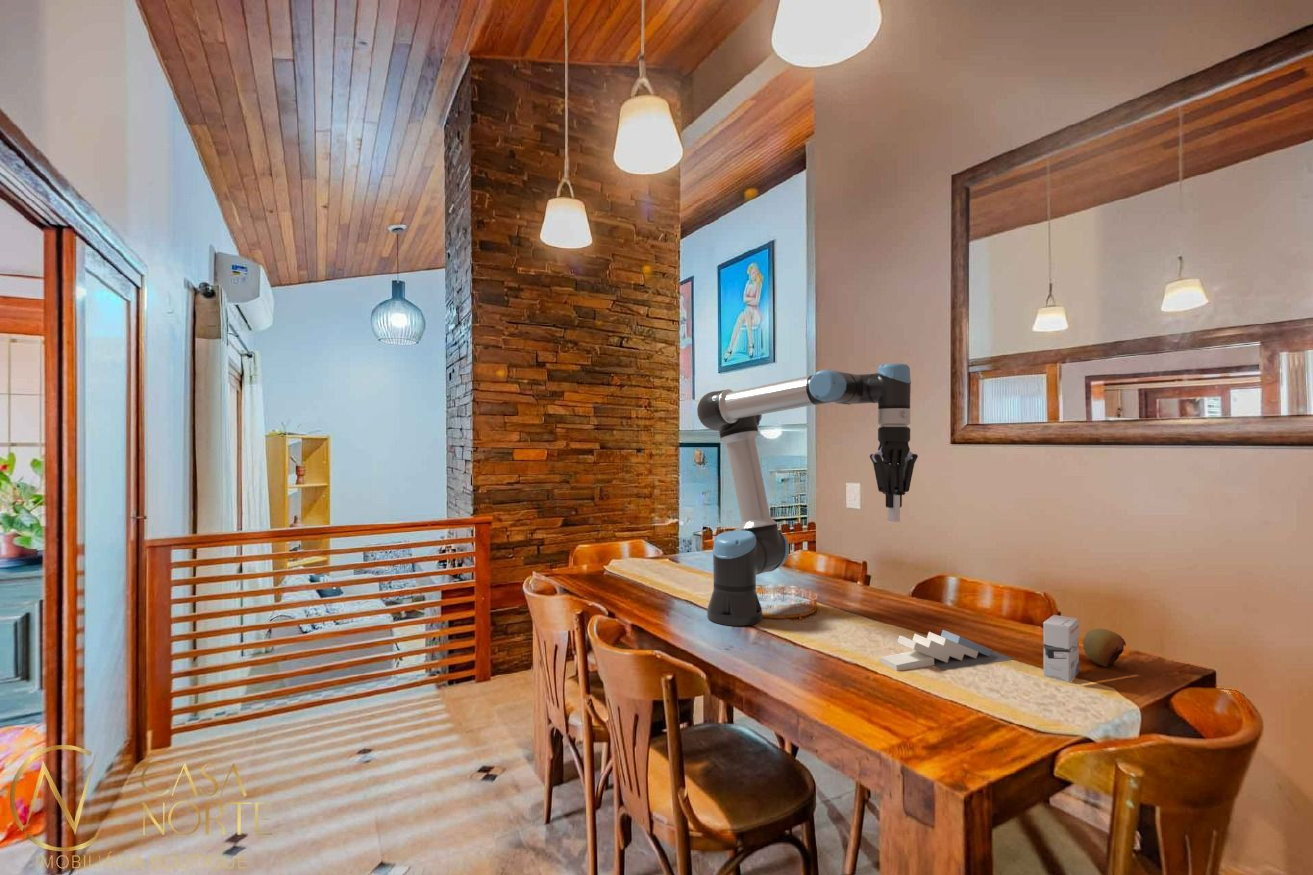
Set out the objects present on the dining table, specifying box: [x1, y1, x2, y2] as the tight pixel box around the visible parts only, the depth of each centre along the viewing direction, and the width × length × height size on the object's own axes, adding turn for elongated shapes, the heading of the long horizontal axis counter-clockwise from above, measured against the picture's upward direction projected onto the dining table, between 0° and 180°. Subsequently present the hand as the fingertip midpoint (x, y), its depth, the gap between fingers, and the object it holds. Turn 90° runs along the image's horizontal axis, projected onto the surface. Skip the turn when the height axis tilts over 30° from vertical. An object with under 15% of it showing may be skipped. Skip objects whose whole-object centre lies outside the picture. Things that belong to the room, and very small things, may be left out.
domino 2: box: [897, 635, 949, 663], centre depth 135 cm, size 2×5×10 cm
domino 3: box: [912, 633, 964, 661], centre depth 137 cm, size 2×5×10 cm
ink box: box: [1042, 614, 1080, 683], centre depth 128 cm, size 8×5×12 cm, turn 134°
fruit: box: [1082, 628, 1127, 668], centre depth 134 cm, size 8×8×8 cm
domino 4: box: [926, 631, 978, 658], centre depth 138 cm, size 2×5×10 cm
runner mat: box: [932, 650, 1015, 671], centre depth 139 cm, size 11×20×1 cm, turn 109°
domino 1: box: [880, 650, 934, 672], centre depth 134 cm, size 2×5×10 cm
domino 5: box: [940, 629, 993, 656], centre depth 139 cm, size 2×5×10 cm
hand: (893, 520), depth 152 cm, fingers closed
